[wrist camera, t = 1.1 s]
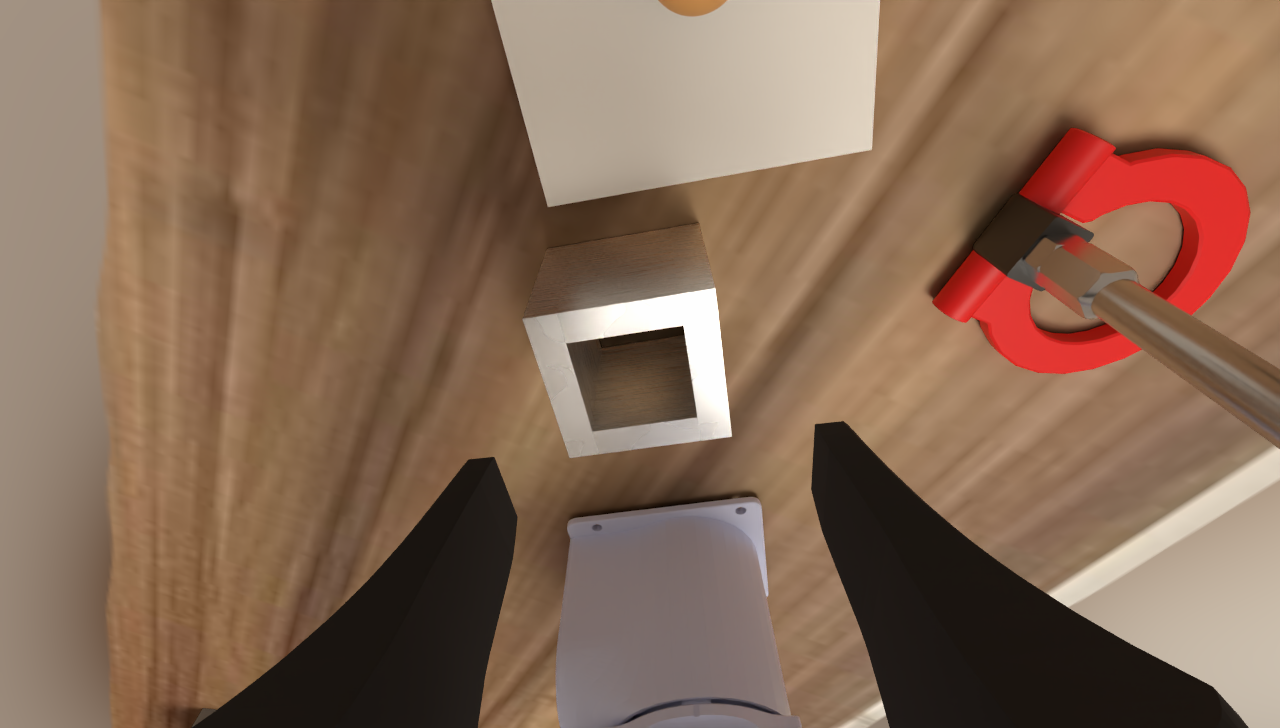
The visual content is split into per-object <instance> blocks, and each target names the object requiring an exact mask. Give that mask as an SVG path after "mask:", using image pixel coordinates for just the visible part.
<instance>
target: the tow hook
mask: <svg viewBox="0 0 1280 728" xmlns="http://www.w3.org/2000/svg"><path fill="white" fill-rule="evenodd" d="M1115 149H1116V148H1115V147H1114V146H1113V145H1112V144H1111V143H1109V142H1107V141H1105V140H1103V139H1101V138H1099V137H1097V136H1095V135H1093V134H1090V133H1088V132H1085V131H1083V130H1080V129H1077V128H1070V129H1069V131H1068V132H1067V133H1066V134H1065V136H1064V137H1063V138H1062V139H1061V141H1060V142H1059V143H1058V144H1057V146H1056V147H1055V148H1054V149H1053V151H1052V152H1051V153H1050V154H1049V156H1048V157H1047V158H1046V159H1045V161H1044V162H1043V163H1042V164H1041V166H1040V167H1039V168H1038V169H1037V171H1036V172H1035V173H1034V174H1033V176H1032V177H1031V178H1030V179H1029V181H1028V182H1027V183H1026V184H1025V186H1024V187H1023V188H1022V189H1021V191H1020V192H1019V194H1018V193H1016V194H1014V195H1013V196H1012V197H1011V198H1010V199H1009V201H1008V202H1007V203H1006V204H1005V206H1004V207H1003V208H1002V209H1001V211H1000V212H999V213H998V214H997V216H996V217H995V218H994V219H993V221H992V222H991V223H990V225H989V226H988V227H987V228H986V230H985V231H984V232H983V233H982V235H981V236H980V237H979V238H978V240H977V241H976V242H975V243H974V245H973V251H972V252H971V253H970V255H969V256H968V257H967V258H966V260H965V261H964V262H963V263H962V265H961V266H960V267H959V268H958V270H957V271H956V272H955V273H954V275H953V276H952V277H951V278H950V280H949V281H948V282H947V283H946V285H945V286H944V287H943V288H942V290H941V291H940V292H939V293H938V295H937V296H936V297H935V298H934V300H933V301H932V302H933V304H934V305H935V306H936V307H937V308H938V309H939V310H940V311H941V312H943V313H944V314H946V315H947V316H949V317H951V318H953V319H955V320H958V321H961V322H965V323H966V322H967V321H968V320H969V319H970V318H971V317H972V318H975V319H977V320H979V321H980V327H981V329H982V330H983V332H984V334H985V336H986V337H987V339H988V341H989V343H990V344H991V345H992V346H993V347H994V348H995V349H996V350H997V351H998V352H999V353H1000V354H1001V355H1003V356H1004V357H1005V358H1006V359H1008V360H1009V361H1010V362H1012V363H1013V364H1014V365H1016V366H1019V367H1022V368H1025V369H1028V370H1031V371H1034V372H1038V373H1059V374H1065V373H1072V372H1078V371H1084V370H1090V369H1094V368H1097V367H1100V366H1103V365H1106V364H1109V363H1112V362H1115V361H1118V360H1121V359H1124V358H1126V357H1128V356H1130V355H1132V354H1134V353H1136V352H1138V351H1140V350H1144V351H1145V352H1147V353H1148V354H1149V355H1151V356H1152V357H1154V358H1155V359H1156V360H1158V361H1159V362H1160V363H1162V364H1163V365H1165V366H1166V367H1167V368H1169V369H1170V370H1171V371H1173V372H1174V373H1176V374H1177V375H1178V376H1180V377H1181V378H1182V379H1184V380H1185V381H1187V382H1188V383H1189V384H1191V385H1192V386H1193V387H1195V388H1196V389H1198V390H1199V391H1200V392H1202V393H1203V394H1205V395H1206V396H1207V397H1209V398H1210V399H1211V400H1213V401H1214V402H1216V403H1217V404H1218V405H1220V406H1221V407H1222V408H1224V409H1225V410H1227V411H1228V412H1229V413H1231V414H1232V415H1233V416H1235V417H1236V418H1238V419H1239V420H1240V421H1242V422H1243V423H1245V424H1246V425H1247V426H1249V427H1250V428H1251V429H1253V430H1254V431H1256V432H1257V433H1258V434H1260V435H1261V436H1262V437H1264V438H1265V439H1267V440H1268V441H1269V442H1271V443H1272V444H1273V445H1275V446H1276V447H1278V448H1279V449H1280V369H1279V368H1277V367H1275V366H1274V365H1272V364H1270V363H1269V362H1267V361H1265V360H1264V359H1262V358H1261V357H1259V356H1257V355H1256V354H1254V353H1252V352H1251V351H1249V350H1247V349H1246V348H1244V347H1242V346H1241V345H1239V344H1237V343H1236V342H1234V341H1232V340H1231V339H1229V338H1228V337H1226V336H1224V335H1223V334H1221V333H1219V332H1218V331H1216V330H1214V329H1213V328H1211V327H1209V326H1208V325H1206V324H1204V323H1203V322H1201V321H1199V320H1198V319H1196V318H1194V317H1193V316H1191V315H1192V314H1193V313H1194V312H1195V311H1196V310H1197V309H1198V308H1199V307H1201V306H1202V305H1203V304H1204V303H1205V302H1206V301H1207V300H1208V299H1209V298H1210V297H1211V295H1212V294H1213V293H1214V292H1215V290H1216V289H1217V288H1218V286H1219V285H1220V284H1221V282H1222V281H1223V280H1224V278H1225V277H1226V276H1227V275H1228V273H1229V272H1230V271H1231V269H1232V267H1233V265H1234V262H1235V260H1236V258H1237V256H1238V254H1239V252H1240V250H1241V248H1242V246H1243V244H1244V242H1245V239H1246V233H1247V228H1248V223H1249V218H1250V207H1249V202H1248V196H1247V191H1246V187H1245V186H1244V184H1243V183H1242V182H1241V181H1240V179H1239V178H1238V177H1237V175H1236V174H1235V173H1234V172H1233V170H1232V169H1231V168H1230V167H1228V166H1226V165H1224V164H1221V163H1219V162H1217V161H1215V160H1213V159H1211V158H1209V157H1207V156H1204V155H1201V154H1198V153H1195V152H1191V151H1186V150H1173V149H1161V148H1156V149H1150V150H1145V151H1140V152H1135V153H1129V154H1124V155H1120V156H1117V155H1115V154H1113V152H1114V150H1115ZM1148 201H1153V202H1167V203H1171V204H1172V206H1173V207H1174V208H1175V209H1176V210H1177V211H1178V212H1179V214H1180V215H1181V219H1182V223H1183V226H1184V237H1183V245H1182V249H1181V251H1180V253H1179V256H1178V258H1177V261H1176V263H1175V265H1174V267H1173V268H1172V269H1171V271H1170V272H1169V274H1168V275H1167V277H1166V278H1165V280H1164V281H1163V282H1162V283H1161V284H1160V285H1159V286H1158V287H1157V288H1156V289H1155V290H1154V292H1152V291H1150V290H1148V289H1147V288H1145V287H1143V286H1142V285H1140V283H1139V279H1138V275H1137V273H1136V271H1135V270H1134V269H1133V268H1132V267H1130V266H1129V265H1127V264H1125V263H1124V262H1122V261H1120V260H1118V259H1117V258H1115V257H1113V256H1112V255H1110V254H1108V253H1106V252H1105V251H1103V250H1101V249H1100V248H1098V247H1096V246H1094V245H1093V244H1090V243H1088V242H1089V241H1090V240H1091V239H1092V238H1093V236H1094V234H1093V233H1092V232H1090V231H1088V230H1087V229H1085V228H1083V227H1081V226H1079V225H1078V224H1076V223H1074V222H1072V221H1070V220H1069V219H1067V218H1065V217H1063V216H1062V215H1060V213H1063V214H1065V215H1067V216H1069V217H1071V218H1073V219H1075V220H1078V221H1080V222H1082V223H1085V222H1090V221H1093V220H1095V219H1096V218H1098V217H1100V216H1101V215H1103V214H1106V213H1108V212H1111V211H1114V210H1116V209H1119V208H1121V207H1124V206H1126V205H1132V204H1137V203H1142V202H1148ZM1033 288H1034V289H1036V290H1039V291H1043V290H1045V289H1046V290H1047V291H1048V292H1049V293H1050V294H1051V295H1053V296H1054V297H1055V298H1057V299H1058V300H1059V301H1061V302H1062V303H1063V304H1065V305H1066V306H1067V307H1069V308H1070V309H1071V310H1073V311H1074V312H1075V313H1077V314H1078V315H1079V316H1081V317H1082V318H1085V319H1099V318H1100V319H1101V320H1102V321H1104V322H1105V323H1107V324H1105V325H1102V326H1099V327H1096V328H1094V329H1091V330H1088V331H1082V332H1076V333H1070V334H1064V333H1051V332H1048V331H1045V330H1042V329H1039V328H1037V327H1036V325H1035V323H1034V321H1033V319H1032V317H1031V313H1030V297H1031V293H1032V289H1033Z"/></svg>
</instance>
